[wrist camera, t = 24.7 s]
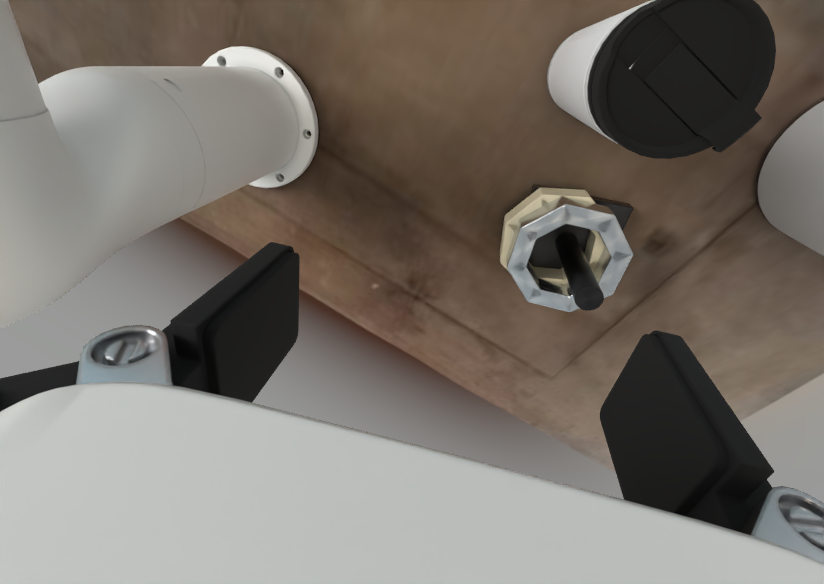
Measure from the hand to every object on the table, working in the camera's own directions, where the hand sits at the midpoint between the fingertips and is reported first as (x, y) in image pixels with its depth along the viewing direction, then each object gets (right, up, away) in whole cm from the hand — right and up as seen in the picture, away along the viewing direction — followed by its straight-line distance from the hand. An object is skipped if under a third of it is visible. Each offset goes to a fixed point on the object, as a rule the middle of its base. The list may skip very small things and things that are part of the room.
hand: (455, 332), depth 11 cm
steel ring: (+13, +5, +26) cm, 29 cm away
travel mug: (+13, +19, +22) cm, 32 cm away
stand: (+14, +6, +29) cm, 33 cm away
